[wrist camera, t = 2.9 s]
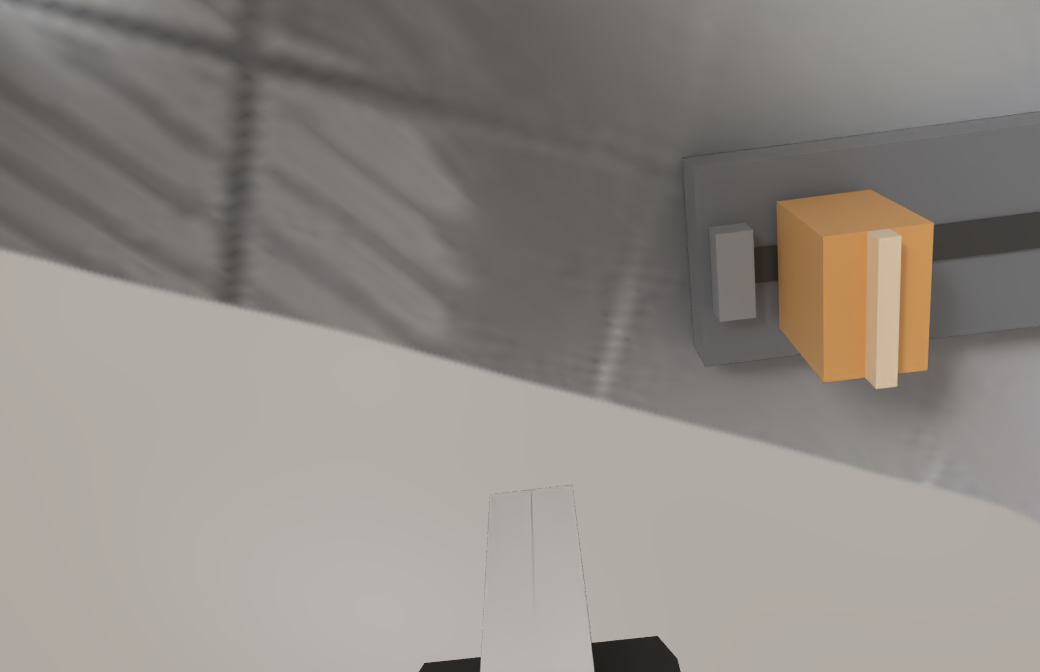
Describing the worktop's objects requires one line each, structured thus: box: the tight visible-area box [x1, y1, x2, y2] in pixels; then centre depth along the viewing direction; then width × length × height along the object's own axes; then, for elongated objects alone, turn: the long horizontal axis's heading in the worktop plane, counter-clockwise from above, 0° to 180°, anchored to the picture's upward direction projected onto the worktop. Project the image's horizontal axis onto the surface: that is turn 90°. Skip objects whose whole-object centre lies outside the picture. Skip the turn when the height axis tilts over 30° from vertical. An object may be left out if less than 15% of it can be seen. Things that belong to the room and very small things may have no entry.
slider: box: [776, 189, 934, 389], centre depth 26 cm, size 3×4×5 cm
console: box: [682, 111, 1040, 366], centre depth 29 cm, size 20×7×3 cm, turn 97°
